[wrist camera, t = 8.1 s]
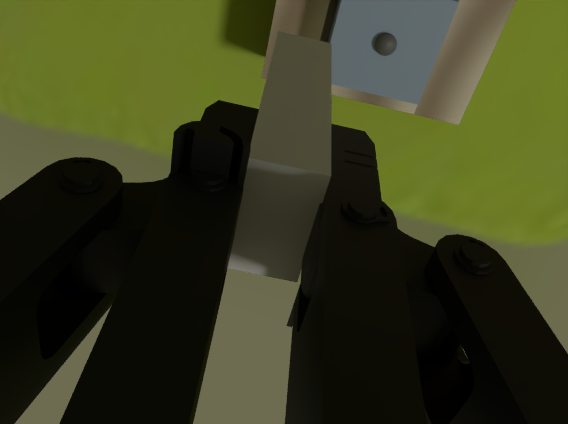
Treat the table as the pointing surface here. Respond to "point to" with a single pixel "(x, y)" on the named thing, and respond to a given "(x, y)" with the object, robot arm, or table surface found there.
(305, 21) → the wooden block tray
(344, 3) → the grey block
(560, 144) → the table surface
